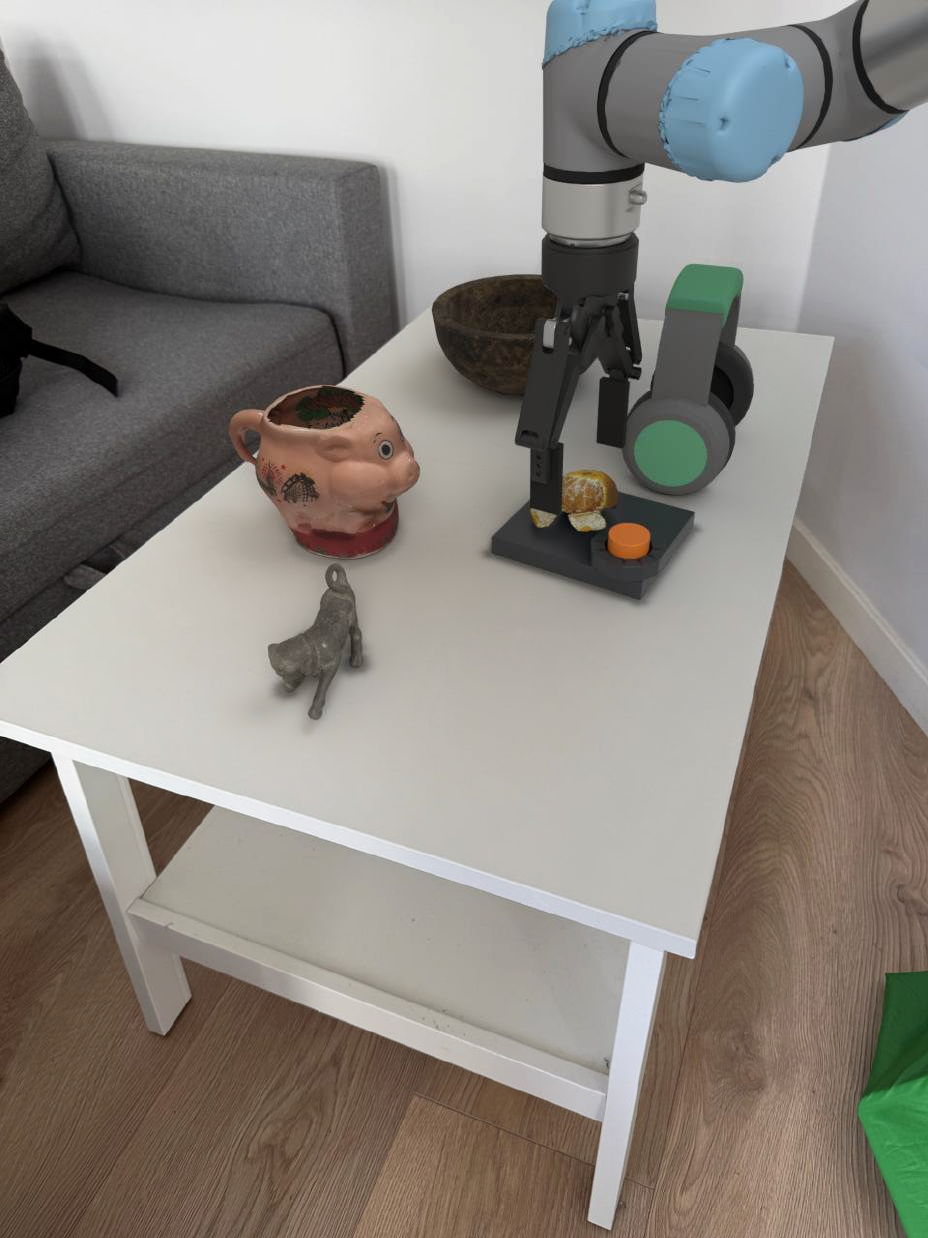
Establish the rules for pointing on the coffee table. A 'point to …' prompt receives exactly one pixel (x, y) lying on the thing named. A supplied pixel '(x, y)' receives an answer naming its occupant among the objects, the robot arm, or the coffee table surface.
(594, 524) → the fruit
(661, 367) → the grey headset
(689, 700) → the coffee table surface
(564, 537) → the scale
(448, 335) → the bowl
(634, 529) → the button
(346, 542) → the decorative planter
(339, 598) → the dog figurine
